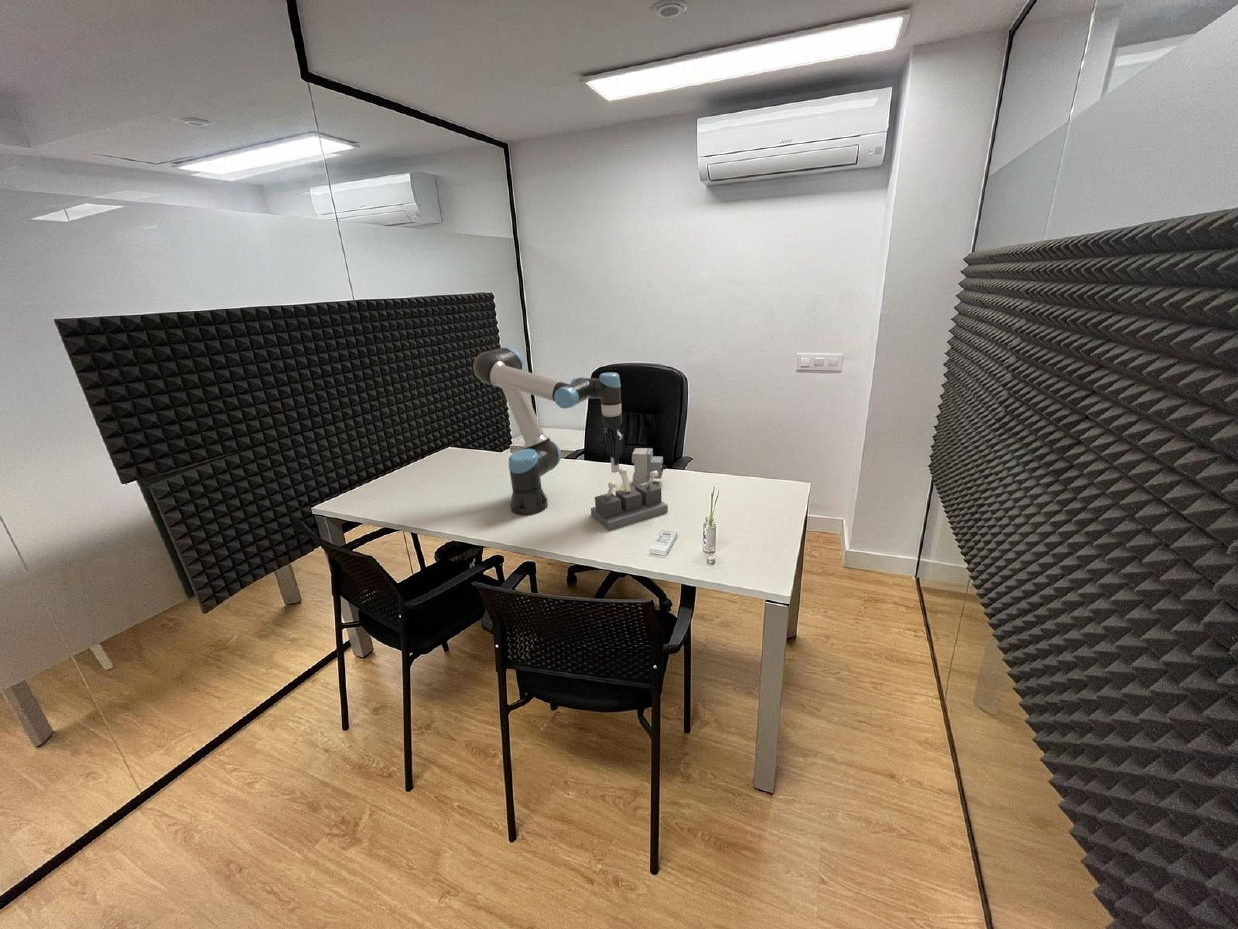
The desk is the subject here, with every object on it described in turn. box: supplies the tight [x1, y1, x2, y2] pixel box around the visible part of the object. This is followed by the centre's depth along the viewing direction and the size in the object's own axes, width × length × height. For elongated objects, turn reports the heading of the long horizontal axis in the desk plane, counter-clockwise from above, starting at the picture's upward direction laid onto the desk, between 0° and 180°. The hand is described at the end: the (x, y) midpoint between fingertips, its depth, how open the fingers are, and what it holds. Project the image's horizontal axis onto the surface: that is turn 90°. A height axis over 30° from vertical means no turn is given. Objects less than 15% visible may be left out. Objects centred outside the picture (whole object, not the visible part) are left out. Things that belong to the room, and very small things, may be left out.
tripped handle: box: [618, 467, 631, 492], centre depth 185 cm, size 2×2×9 cm
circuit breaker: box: [631, 447, 667, 486], centre depth 213 cm, size 8×14×15 cm, turn 78°
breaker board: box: [590, 471, 669, 531], centre depth 186 cm, size 15×26×17 cm, turn 119°
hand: (615, 471), depth 192 cm, fingers closed
